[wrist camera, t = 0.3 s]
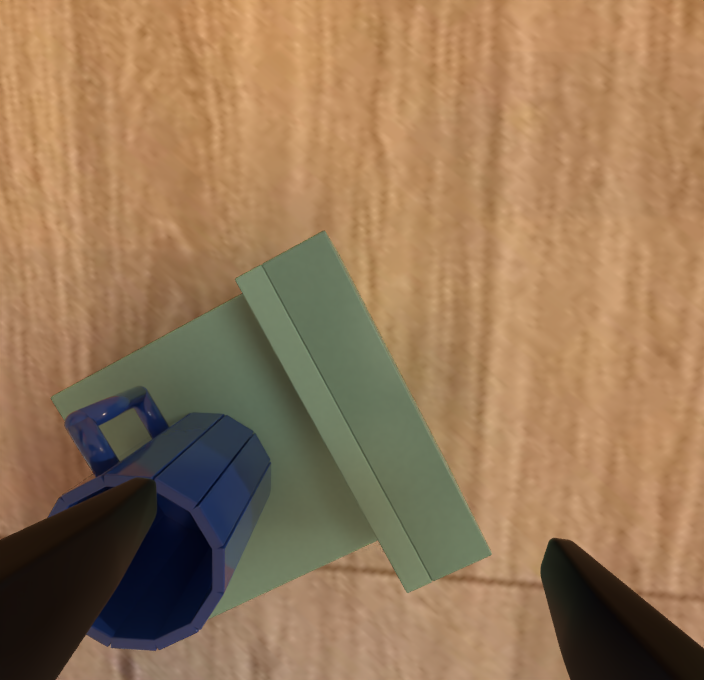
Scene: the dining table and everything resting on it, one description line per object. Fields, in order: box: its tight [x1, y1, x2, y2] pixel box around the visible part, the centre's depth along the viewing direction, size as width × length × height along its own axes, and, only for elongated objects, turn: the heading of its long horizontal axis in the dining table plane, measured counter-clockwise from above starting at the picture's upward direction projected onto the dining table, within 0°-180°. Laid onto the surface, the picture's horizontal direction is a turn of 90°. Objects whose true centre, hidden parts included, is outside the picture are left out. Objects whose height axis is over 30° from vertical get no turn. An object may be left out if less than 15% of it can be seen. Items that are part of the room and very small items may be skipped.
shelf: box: [51, 231, 492, 619], centre depth 20 cm, size 17×15×8 cm
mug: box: [48, 386, 271, 651], centre depth 17 cm, size 7×9×7 cm
